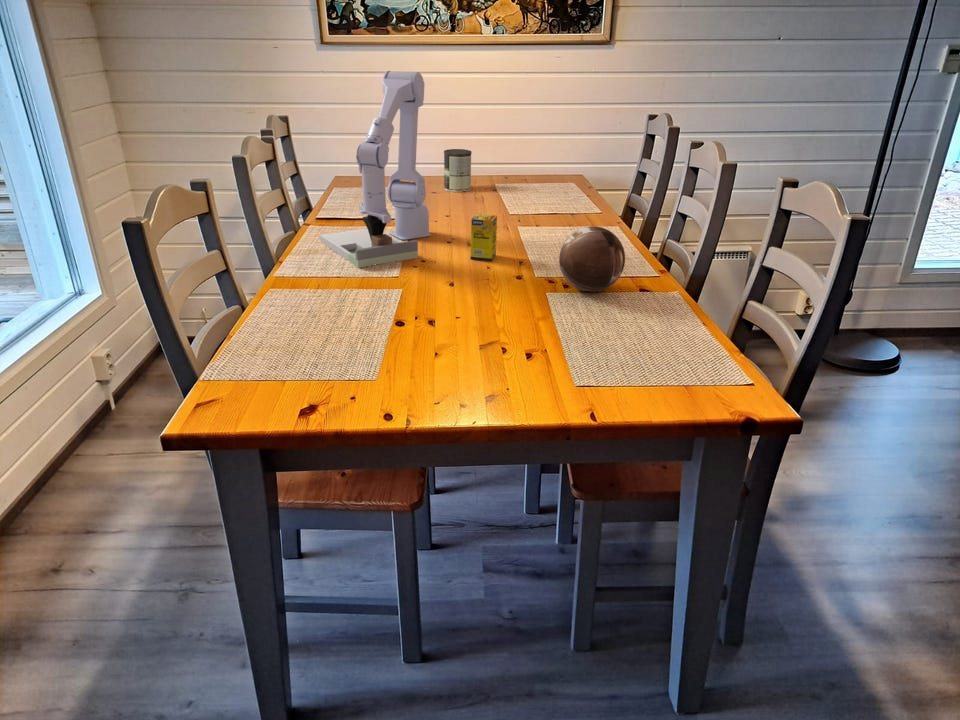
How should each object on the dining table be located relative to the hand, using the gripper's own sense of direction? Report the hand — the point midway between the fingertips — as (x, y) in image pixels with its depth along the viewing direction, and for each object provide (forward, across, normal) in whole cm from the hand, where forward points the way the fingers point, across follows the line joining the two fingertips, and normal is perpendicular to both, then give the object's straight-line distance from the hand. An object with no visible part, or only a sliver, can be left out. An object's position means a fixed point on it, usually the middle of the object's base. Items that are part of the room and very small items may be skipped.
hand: (376, 243), depth 173 cm
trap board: (+3, -6, 0) cm, 7 cm away
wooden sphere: (+3, +48, +32) cm, 58 cm away
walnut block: (+1, +3, 0) cm, 4 cm away
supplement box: (+3, +15, +24) cm, 29 cm away
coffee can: (+3, -60, +62) cm, 86 cm away
